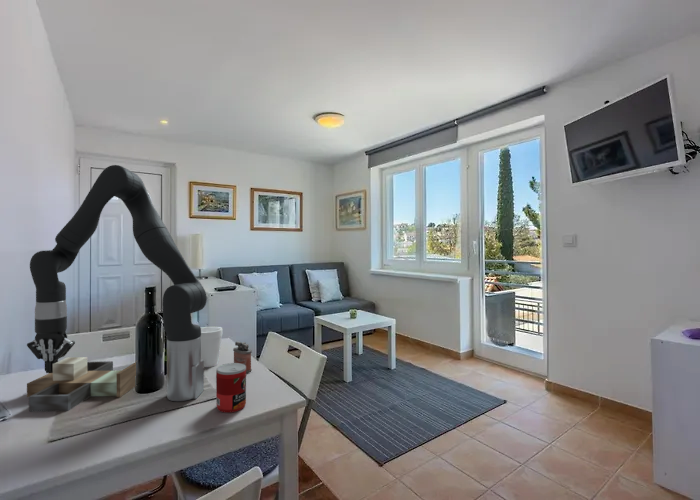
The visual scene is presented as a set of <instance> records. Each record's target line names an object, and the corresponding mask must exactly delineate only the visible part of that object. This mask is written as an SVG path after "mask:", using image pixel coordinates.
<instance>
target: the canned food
mask: <svg viewBox="0 0 700 500" xmlns="http://www.w3.org/2000/svg"><path fill="white" fill-rule="evenodd" d="M215 373H216V374H215V377H216V378H215V380H216V381H215V383H216V386H215V388H216V389H215V390H216V392H215V393H216V397H215V399H216V403H215V404H216V409H217V410H218V411H219V412H222V413H230V414H231V413H235V412H239V411H242V410H243V408H245V406H246V403H247V373H246V366H245V365H244V364H241V363H234V362H229V363H224V364H222V365H219V366H217V367H216V372H215Z"/></svg>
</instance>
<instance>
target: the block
mask: <svg viewBox="0 0 700 500" xmlns="http://www.w3.org/2000/svg"><path fill="white" fill-rule="evenodd" d="M87 362H88V356H84V357H83V356H80V357H79V356H77V357H73V356H72V357H69V356H68V357H64V358H63V359H60V360H58V362H56V363H54V364H53V381H64V380H75V379H77V378H79V377H81V376H83V375H85V374H87V373H88V372H87Z"/></svg>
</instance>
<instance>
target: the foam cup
mask: <svg viewBox="0 0 700 500" xmlns="http://www.w3.org/2000/svg"><path fill="white" fill-rule="evenodd" d="M200 328H201V360H204V368H210V367H215V366H217V365H218V364H219V362H220V361H219V359H220V353H221V345H222V336H223V327H221V326H205V327H200Z"/></svg>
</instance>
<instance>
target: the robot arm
mask: <svg viewBox="0 0 700 500" xmlns="http://www.w3.org/2000/svg"><path fill="white" fill-rule="evenodd" d="M114 197H115V198H118V199H120V200H121V201H122V203H124V205H125V206H126V208H127V209H128V212H129V213H130V215H131V219H132V232H133V233H132V234H133V238H134V239H135V242H136V244H137V246H138V247H139V249H140V251H141V253H142V254H143V256H144V257H145V258H146V259H148V261H149V262H150V263H151V264H153V265H154V266H155V267H157V268H158V269H159V270H161V271H162V272H163V273H164V274H166V275H167V276H168V279H170V281H171V282H172V285H169V286H168V287H167V288H166V289H165V290H164V292H163V296H162V319H163V321H162V322H163V328H164V331H165V333H166V399H167V400H169V401H172V402H183V401H189V400H194V399H197V398H199V396H200V395H201V394H202V393H203V392H204V390H205V389H204V388H205V387H204V384H205V382H204V381H205V379H204V378H205V377H204V374H205V373H204V371H205V369H204V368H205V367H204V360H201V328H202V327H201V326H200V325H198V324H194V323H192V314H193V313H197V312H199V311H201V310H203V309H204V308H205V306H206V305H207V301H208V299H207V298H208V297H207V293H206V289H205V288H204V286H203V284H202V283H201V282H200V281H199V279H198V278H197V276H196V275H195V274H194V272H193V271H192V270H191V268H190V267H189V265H188V263H187V262H186V259H184V257H183V255H182V254H181V252H180V250H179V248H178V246H177V245H176V242H175V241H174V239H173V237H172V236H171V232H169V230H168V228H167V227H166V225H165V224H164V221H163V220H162V218H161V216H160V215H159V213H158V211H157V210H156V208H155V206H154V205H153V203H152V200H151V198H150V196H149V194H148V191H147V188H146V186H145V183H144V181H143V179H142V178H141V177H140V176H139V175H138V174H136V173H134V172H133V171H131V170H129V169H128V168H126V167H124V166H122V165H117V164H112V165H109V166H107V167H105V168H104V169H103V170H102V171H101V173H100V174H99V175H98V177H97V178H96V180H95V182H94V183H93V184H92V187H91V188H90V190H89V191H88V193H87V195H86V197H85V198H84V200H83V202H82V203H81V204H80V206H79V208H78V209H77V210H76V212H75V213H74V215H73V216H72V217H71V218H70V219H69V220H68V221H67V223H66V224H65V225H64V226H63V227H62V228H61V230H60V231H59V232H58V233H57V234H56V236H55V239H54V240H55V243H56V244H55V246H54V248H53V249H52V250H40V251H37V252H35V253H34V254H33V255H32V257H30V262H29V270H30V274H31V278H32V281H33V284H34V285H35V307H34V333H35V335H34V339H33V340H32V341H30V342H28V343H27V344H26V347H27V348H28V350H30V351H31V353H32V354H33V355H34V356H35V357H36V358H37V360H40V359H41V360H43V362H44V371H45V373H46V374H49V373H53V364H54V363H56V362H58V361H59V359H61V358H65V356H66V355H67V354H68V352H69V351H71V349H72V348H73V347H74V345H75V344H76V342H75V340H70V339H68V334H67V333H66V331H67V329H68V307H67V287H66V283H64V282H63V281H61V280H59V275H58V273H63V272H64V271H66V270H67V269H69V268H70V267H71V266H72V264H74V262H75V260H76V258H77V256H78V255H79V253H80V250H81V249H82V248H83V246H84V245H85V244H86V243H87V241H89V240H90V239H91V237H92V236H93V235H94V234H95V233H96V230H97V228H98V226H99V221H100V219H101V214H102V212H103V210H104V208H105V206H106V205H107V204H108V202H110V201H111V200H112V199H113V198H114Z"/></svg>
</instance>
